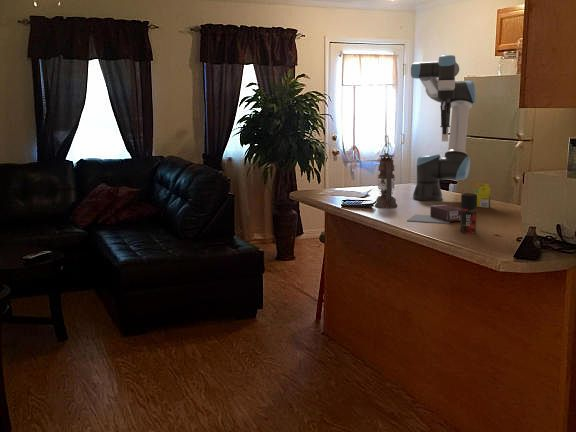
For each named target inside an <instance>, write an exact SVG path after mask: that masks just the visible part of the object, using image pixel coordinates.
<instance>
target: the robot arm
mask: <svg viewBox="0 0 576 432" xmlns="http://www.w3.org/2000/svg"><path fill="white" fill-rule="evenodd" d="M459 73H460V65H459V64H458V63H457V61H456V55H454V54H453V55H449V54H446V55H440V56H439V57H438V61H419V62H413V63H411V66H410V76H411V79H417V80H420V82H421V84H422V85H423V87H424V88H425V93H426V95H427V96H428V97H429V98H430V99H432V100H433V101H434V102H438V103H440V128H441V142H448V150H447V151H446V152H444V156H441V155H440V153H433V154H432V153H431V154H425V155H421V156H418V157H417V160H416V185H415V187H414V191H413V194H412V199H414V200H416V201H423V202H424V201H426V202H428V201H429V202H430V201H433V202H434V201H441V200H442V199H443V193H442V190H441V186H440V180H449V181H450V180H451V181H453V180H454V181H460V180H461V181H463V180H466V179H467V178H468V176H469V174H470V168H471V157H469V154H468V153H467V152H466V147H467V136H468V127H469V126H468V123H469V112H470V109H471V108H473V104H475V103H477V96H476V95H477V94H476V87H475V86H476V85H475V82H474V81H473V80H456V76H457V75H458V74H459Z"/></svg>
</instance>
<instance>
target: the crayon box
mask: <svg viewBox="0 0 576 432" xmlns="http://www.w3.org/2000/svg"><path fill="white" fill-rule="evenodd" d="M481 185H482V186H481ZM491 190H492V189H491V186H490V184H489V183H480V182H479V183H477V182H476V183H475V182H474V183H473V194H477V208H488V209H489V208H490V207H491Z"/></svg>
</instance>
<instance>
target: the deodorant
mask: <svg viewBox="0 0 576 432" xmlns="http://www.w3.org/2000/svg"><path fill="white" fill-rule="evenodd" d="M460 200H461V201H460V205H461V206H460V209H461V221H460V226H459V228H460V229H459V232H460V233H461V232H462V234H466V233H472V234H476V232H477V214H478V213H477V212H478V210H477V208H478V207H477V194H474V193H468V192H467V193H462V194H461V198H460Z"/></svg>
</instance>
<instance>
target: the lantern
mask: <svg viewBox="0 0 576 432" xmlns="http://www.w3.org/2000/svg"><path fill="white" fill-rule="evenodd" d="M386 138H387V152H384V154H381V155H378V156H379V157H380V159H379V164H378V169H377V170H378V172H379V174H378V175H377V183H378V185H377V189H378V191H379V195H378V196H377V198H376V200H375V201H376V203H374V207H375V208H378V209H395V208H397V207H398V204H397V199H396V198H395V197H394V196H393V195H394V191H395V190H394V189H395V183H394V182H395V181H396V180H395V179H396V177H395V174H394V172H395V164H394V159H393V157H395V155H394V154H389V150H390V149H389V147H390V144H389V143H390V141H389V135H384V140H386Z"/></svg>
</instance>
